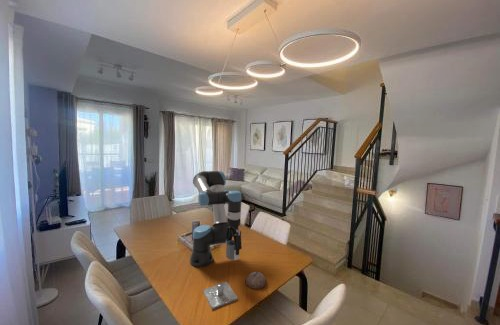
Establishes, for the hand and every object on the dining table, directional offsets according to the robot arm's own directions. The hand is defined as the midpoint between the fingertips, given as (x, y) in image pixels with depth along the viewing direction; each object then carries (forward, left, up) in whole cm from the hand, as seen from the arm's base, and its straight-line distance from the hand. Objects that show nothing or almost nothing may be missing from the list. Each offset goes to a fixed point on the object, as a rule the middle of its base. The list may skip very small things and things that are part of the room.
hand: (232, 255), depth 120 cm
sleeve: (0, 0, 0) cm, 0 cm away
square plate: (+8, -11, -15) cm, 20 cm away
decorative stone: (+8, +12, -16) cm, 21 cm away
